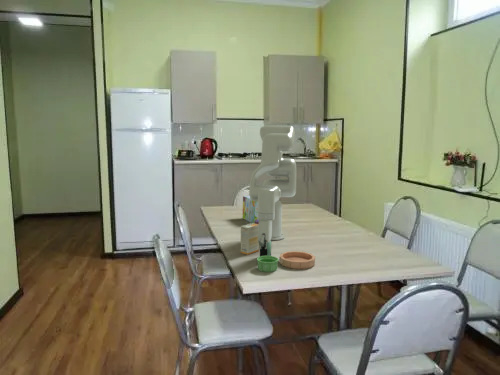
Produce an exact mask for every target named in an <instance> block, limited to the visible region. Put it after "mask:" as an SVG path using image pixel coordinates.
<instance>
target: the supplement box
mask: <svg viewBox="0 0 500 375" xmlns="http://www.w3.org/2000/svg"><path fill="white" fill-rule="evenodd" d="M258 226H259V224H254V223H250V222H249V223H246V224H244V225H240V253H241V254H243V255H247V256H248V255H251V254H254V253H257V252H260V242H258Z"/></svg>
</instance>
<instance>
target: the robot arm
mask: <svg viewBox="0 0 500 375" xmlns="http://www.w3.org/2000/svg"><path fill="white" fill-rule="evenodd" d="M259 136H260V139H261V140H262V141H261V142H262V144H261V157H260V159H261V160H260V164H259V165H258V167H256V168H255V169H254V171H253V172H252V174H251V176H250V180H249V190H248V196H250V199H251V200H252V201H258V218H257V219H258V220H259V226H258V242H259V243H260V241H261V245H260V244H259V257H260V256H267V243H268V242H269V241H271V242H272V241H279V240H283V239H284V238H285V234H283V233H282V226H283V224H282V222H283V221H282V220H283V219H282V218H283V205H282V202H281V201H280V199H281V198H293V197H295V195H296V194H297V162H296V160H295V159H294V158H289V157H288V158H287V157H286V158H283V152H290V151H292V150H293V148H294V144H295V138H296V137H295V136H296V133H295V128H294V127H293V125H276V124H275V125H273V124H272V125H263V126H261V127H260V129H259ZM265 174H266V175H267V176H269V177H281V178H268V179H265V180H264V181H263V183H262V184H257V182H258V179H259V178H261V176H262V175H265ZM282 177H284V178H282ZM285 178H286V179H285ZM264 241H266V242H264ZM265 244H266V245H265Z"/></svg>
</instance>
